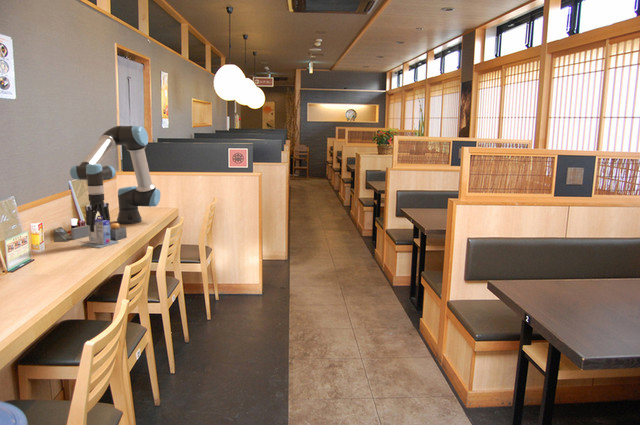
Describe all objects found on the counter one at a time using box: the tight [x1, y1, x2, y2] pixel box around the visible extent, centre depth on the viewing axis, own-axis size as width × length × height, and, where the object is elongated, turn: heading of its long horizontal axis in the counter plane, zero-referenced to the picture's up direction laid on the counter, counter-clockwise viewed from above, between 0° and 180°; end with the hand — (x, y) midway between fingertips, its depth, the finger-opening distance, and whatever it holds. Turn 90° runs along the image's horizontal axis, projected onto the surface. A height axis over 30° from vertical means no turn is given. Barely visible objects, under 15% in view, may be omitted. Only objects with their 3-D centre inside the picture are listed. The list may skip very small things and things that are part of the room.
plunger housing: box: [110, 226, 128, 241], centre depth 263 cm, size 8×8×6 cm
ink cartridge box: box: [87, 215, 112, 244], centre depth 250 cm, size 10×6×14 cm, turn 75°
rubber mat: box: [80, 240, 120, 249], centre depth 251 cm, size 13×13×1 cm
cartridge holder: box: [70, 224, 89, 241], centre depth 263 cm, size 10×16×6 cm, turn 69°
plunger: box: [110, 222, 120, 229], centre depth 263 cm, size 4×4×6 cm
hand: (99, 236), depth 251 cm, fingers open, 6 cm apart
